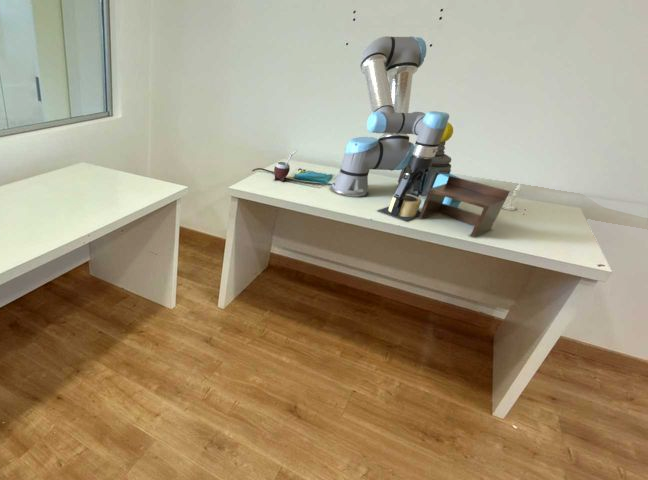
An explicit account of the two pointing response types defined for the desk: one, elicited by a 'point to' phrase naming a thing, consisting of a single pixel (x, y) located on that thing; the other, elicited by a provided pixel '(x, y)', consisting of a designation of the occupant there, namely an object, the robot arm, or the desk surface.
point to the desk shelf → (468, 193)
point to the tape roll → (407, 206)
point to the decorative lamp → (435, 163)
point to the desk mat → (397, 215)
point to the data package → (442, 180)
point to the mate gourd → (282, 169)
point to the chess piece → (511, 200)
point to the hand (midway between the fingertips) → (402, 211)
